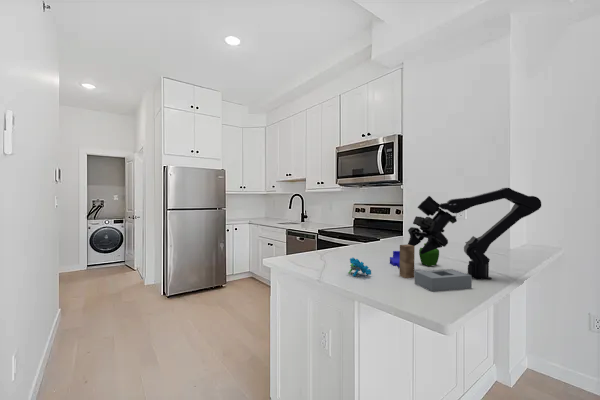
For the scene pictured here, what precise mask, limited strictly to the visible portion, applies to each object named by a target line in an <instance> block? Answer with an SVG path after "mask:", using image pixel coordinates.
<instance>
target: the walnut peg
mask: <svg viewBox="0 0 600 400" xmlns="http://www.w3.org/2000/svg"><path fill="white" fill-rule="evenodd" d="M399 251H400V268H399V277H401V278H404V279H415V246H412V245H408V244H400V245H399Z"/></svg>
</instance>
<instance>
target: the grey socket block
mask: <svg viewBox="0 0 600 400" xmlns="http://www.w3.org/2000/svg"><path fill="white" fill-rule="evenodd" d="M472 281H473V278H472V275H469V274H468V273H465V272H462V271H459V270H456V269H453V268H450V269H449V268H447V269H433V270H432V269H431V270H430V269H429V270H417V271H415V270H414V284H415V285H417V286H420V287H421V288H423V289H426V290H428V291H430V292H433V293H434V292H444V291H454V290H455V291H456V290H467V289H469V288H470V289H472ZM470 289H469V290H470Z"/></svg>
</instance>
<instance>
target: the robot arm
mask: <svg viewBox="0 0 600 400" xmlns="http://www.w3.org/2000/svg"><path fill="white" fill-rule="evenodd" d="M503 199H505V200H507V201H509V202H511V203H513V206H512V208H511V209H510V210H509V212H508V213H507V214H505V215H504V216H503V217H502V218H500V220H498V221H497V222H496V223H495V224H494V225H493V226H491V227H490V228H489V229H487V231H485V232H484V233H483V234H482V235H480V236H479V237H476V236H474V235H473V236H472V237H470V239H469V240H468V241H465V245H464V247H463V251H464V253H465V255H466V256H467V257H469V259H470V260H469V261H468V265H467V274H469V275H472V279H475V280H492V277H491V276H489V271H490V270H489V267H490V265H489V263H490V260H491V259H490V258H489V257H488V256H487V255H486V254H485V253H486V252H487V250H488V249H489V247H490V246H491V244H492V243H494V242H495V241H496V240H497V239H498V238H499V237H500V236H502V235H503V234H504V233H505V232H507V231H508V230H509V229H510V228H512V227H513V226H514V225H515V224H516V223H518V222H519V221H520V220H522V219H524V218H526V217H528V216H531V215H532V214H534V213H536V212H537V211H538V210H540V209H541V208H542V201H541V199H540V198H539V197H537V196H534V195H526V194H524V193H522V192H519V191H516V190H514V189H512V188H511V187H502V188H499V189H496V190H492V191H489V192H486V193H482V194H477V195H473V196H470V197H462V198H461V197H460V198H451V199H449V200H447V201H446V202H445V203H439V202H437V201H436V200H435V199H434V198H433V197H432V196H431V195H428V196H427V197H426V198H425V199H424V200H422V201H421V203H420V204H419V205H418V206H417V209H418V210H420V211H421V212H422V213H423V214H425V215H426V217H422V216H415V217H414V219H413V221H412V224H413V225H416V226H418V227H419V228H418V227H414V226H410V227H409V228H408V230H407V232H408V234H409V240H408V242H407V245H412V246H417V245H419V244H420V243H421V242H422V241H423V240H424V239H425V238H426V239H427V241H426V242H425V243H426V244H425V245H424V244H423V245H424V246H422V247H421V248H422V250H421V251H420V253H421V254H424V253H426V252H429V251H431V250H434V249H439V248H442V247H444V248H445V247H447V245H448V244H449V239H447V237H446V236H445V235H444V234H443V233H444V232H445V228H446V226H447V225H448V224H449V223H451V224H454V223H456V222H457V221H458V220H457V216H456V215H452V214H459V213H461V212H463V211H466V210H468V209H470V208H472V207H475V206H480V205H483V204H487V203H491V202H496V201H499V200H503ZM451 213H452V214H451ZM430 216H431V217H430Z"/></svg>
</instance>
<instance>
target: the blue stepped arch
mask: <svg viewBox="0 0 600 400" xmlns="http://www.w3.org/2000/svg"><path fill="white" fill-rule="evenodd" d="M389 263H390V265H392V266H393V267H398V268H399V269H400V250H393V251H392V257H391V256H390V257H389Z"/></svg>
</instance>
